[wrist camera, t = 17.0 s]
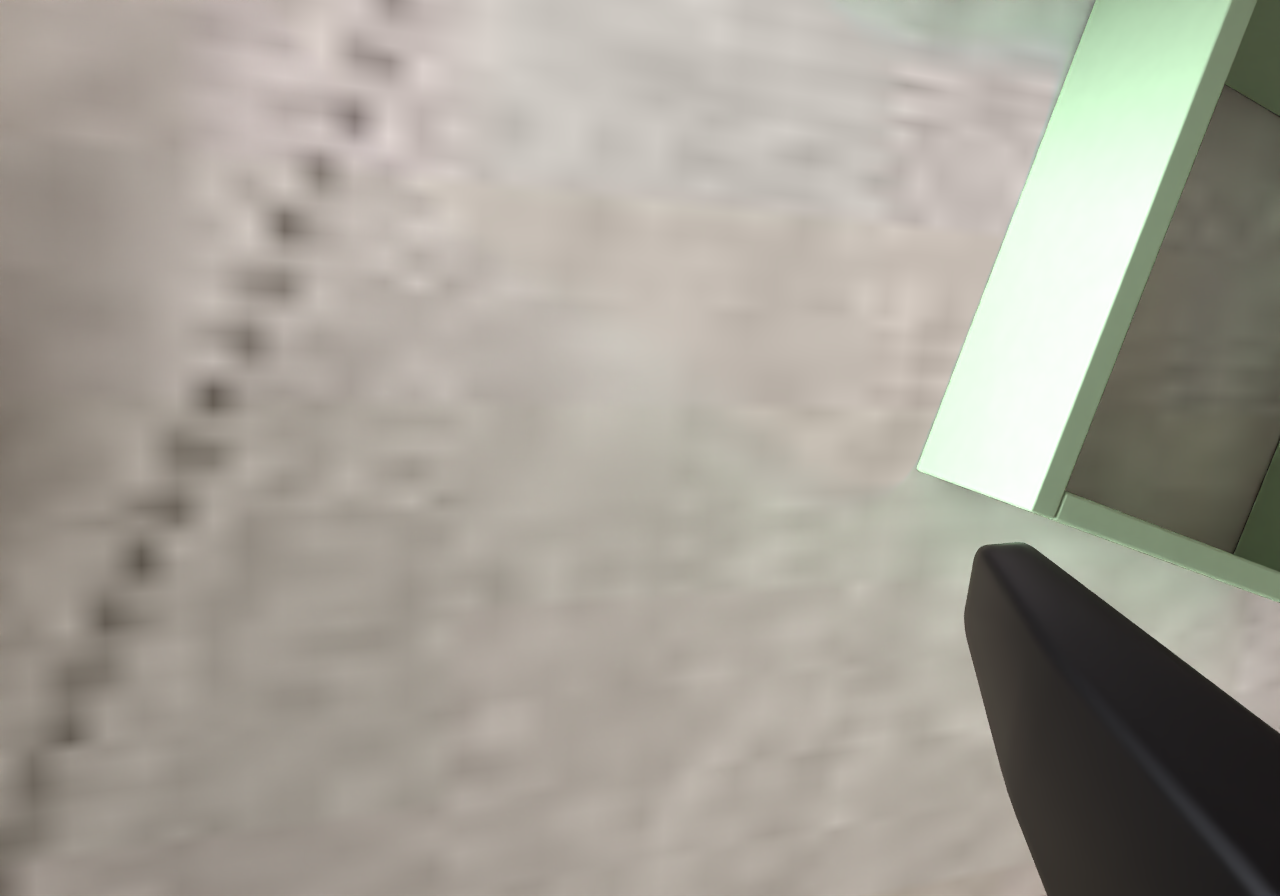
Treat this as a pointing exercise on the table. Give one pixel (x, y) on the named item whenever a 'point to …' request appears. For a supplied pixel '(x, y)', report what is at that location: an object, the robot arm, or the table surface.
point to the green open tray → (1102, 270)
